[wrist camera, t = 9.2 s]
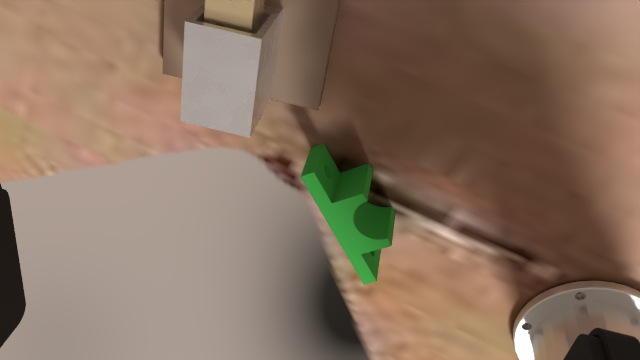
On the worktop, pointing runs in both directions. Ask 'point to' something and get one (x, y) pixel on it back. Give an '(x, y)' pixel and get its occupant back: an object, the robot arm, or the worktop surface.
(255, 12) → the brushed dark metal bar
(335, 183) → the pipe clamp
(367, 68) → the worktop surface
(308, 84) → the base board
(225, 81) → the sleeve
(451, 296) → the worktop surface
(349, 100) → the worktop surface
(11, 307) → the robot arm
